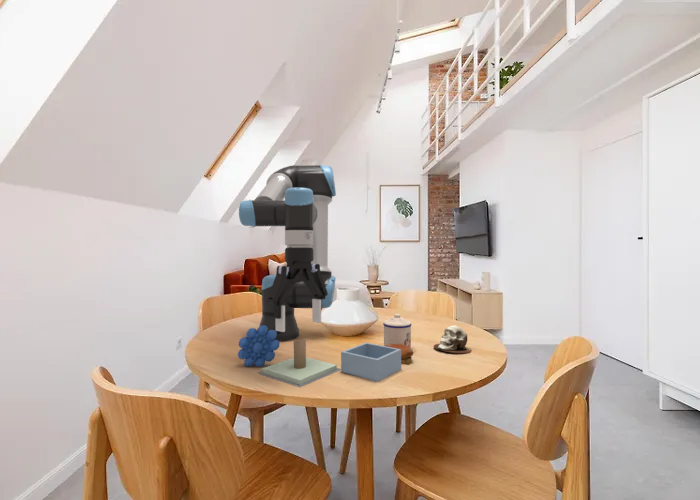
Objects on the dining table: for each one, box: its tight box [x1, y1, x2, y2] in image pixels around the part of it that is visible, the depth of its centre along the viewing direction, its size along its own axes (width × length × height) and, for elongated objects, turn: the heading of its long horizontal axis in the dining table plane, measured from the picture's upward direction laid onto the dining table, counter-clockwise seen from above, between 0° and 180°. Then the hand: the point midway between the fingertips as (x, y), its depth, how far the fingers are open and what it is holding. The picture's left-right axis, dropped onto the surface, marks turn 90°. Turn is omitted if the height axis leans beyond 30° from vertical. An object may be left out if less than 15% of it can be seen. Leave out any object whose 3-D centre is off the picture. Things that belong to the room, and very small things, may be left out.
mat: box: [256, 367, 341, 388], centre depth 104 cm, size 16×16×1 cm
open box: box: [340, 342, 402, 383], centre depth 104 cm, size 12×12×6 cm
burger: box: [385, 344, 414, 366], centre depth 114 cm, size 10×9×5 cm
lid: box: [261, 338, 338, 385], centre depth 104 cm, size 14×14×8 cm
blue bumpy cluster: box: [237, 325, 280, 368], centre depth 109 cm, size 12×7×12 cm, turn 92°
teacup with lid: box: [382, 313, 412, 349], centre depth 127 cm, size 12×9×12 cm
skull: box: [433, 324, 472, 355], centre depth 126 cm, size 12×10×10 cm
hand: (299, 326), depth 103 cm, fingers open, 13 cm apart
